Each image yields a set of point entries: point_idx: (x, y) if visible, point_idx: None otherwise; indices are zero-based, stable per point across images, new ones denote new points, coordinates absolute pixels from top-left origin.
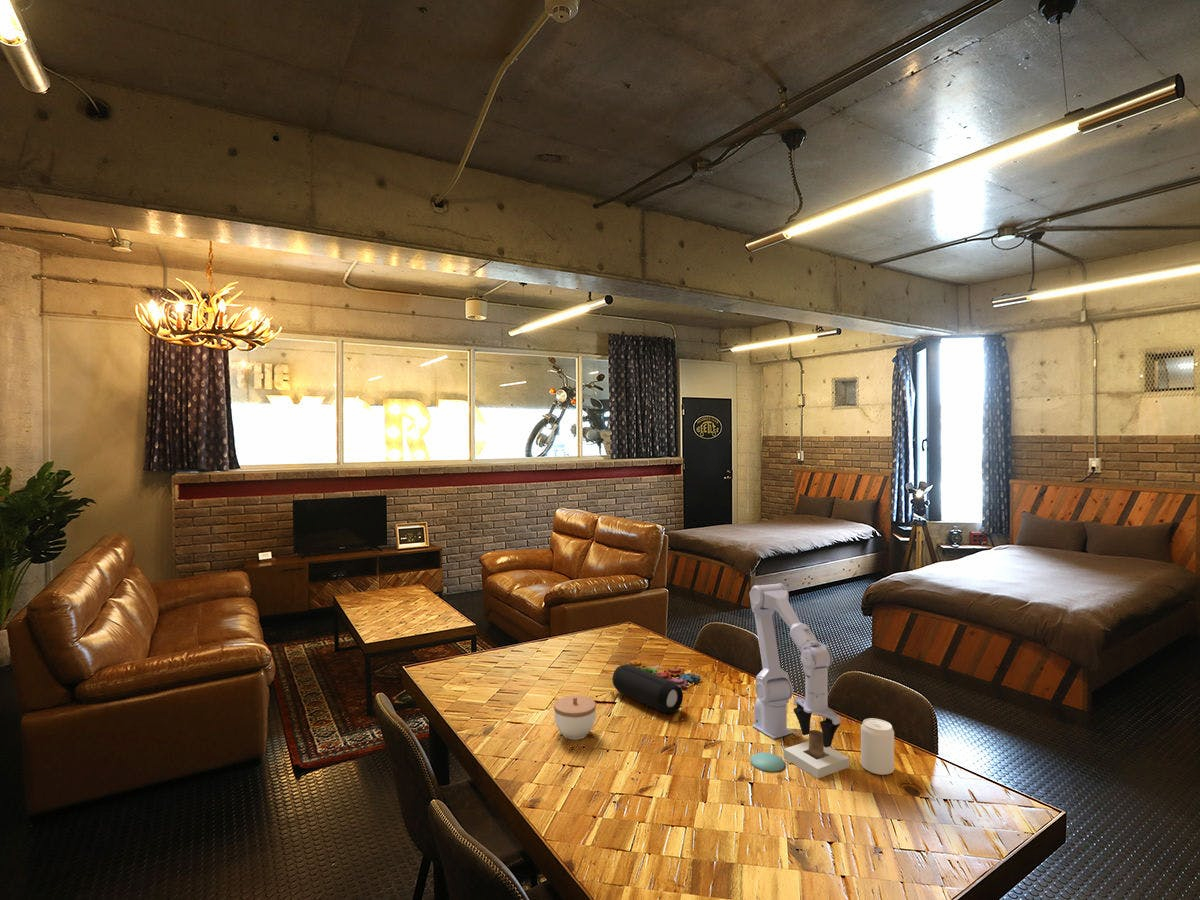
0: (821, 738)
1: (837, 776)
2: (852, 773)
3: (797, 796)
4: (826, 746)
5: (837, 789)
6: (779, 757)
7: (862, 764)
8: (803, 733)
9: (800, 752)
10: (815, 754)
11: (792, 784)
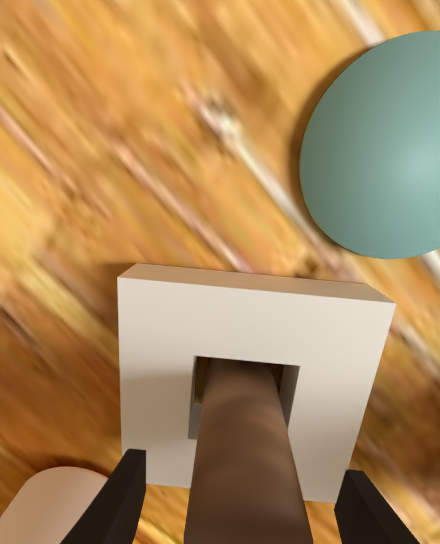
0: (187, 514)
1: (109, 350)
2: (98, 413)
3: (55, 6)
4: (122, 458)
5: (27, 262)
6: (378, 252)
7: (95, 483)
8: (355, 485)
9: (300, 347)
10: (219, 383)
11: (162, 95)
